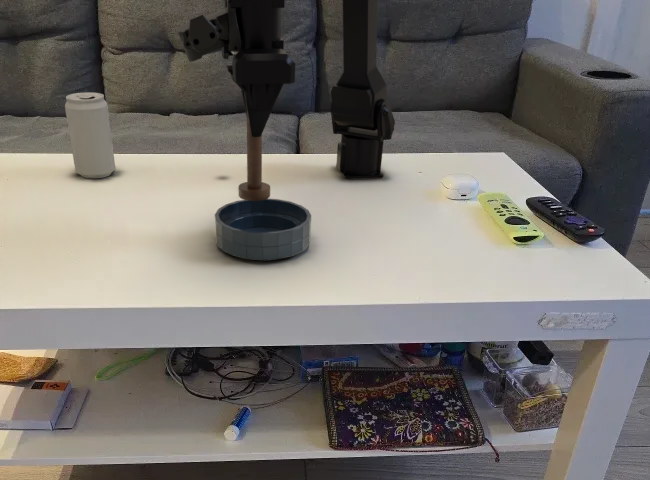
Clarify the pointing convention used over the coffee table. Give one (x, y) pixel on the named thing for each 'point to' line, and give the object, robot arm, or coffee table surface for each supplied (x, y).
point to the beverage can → (90, 134)
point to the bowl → (263, 229)
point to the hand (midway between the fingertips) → (255, 134)
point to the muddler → (254, 171)
